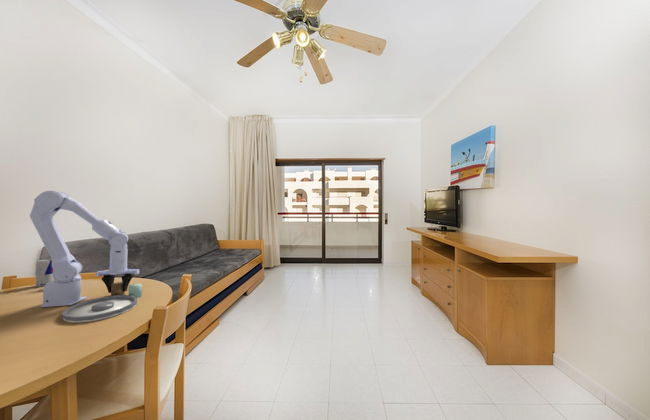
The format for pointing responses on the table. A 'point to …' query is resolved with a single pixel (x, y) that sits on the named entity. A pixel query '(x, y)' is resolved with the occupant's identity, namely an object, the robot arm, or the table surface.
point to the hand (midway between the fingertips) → (117, 291)
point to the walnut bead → (117, 289)
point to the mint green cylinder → (135, 290)
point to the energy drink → (44, 272)
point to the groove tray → (99, 308)
